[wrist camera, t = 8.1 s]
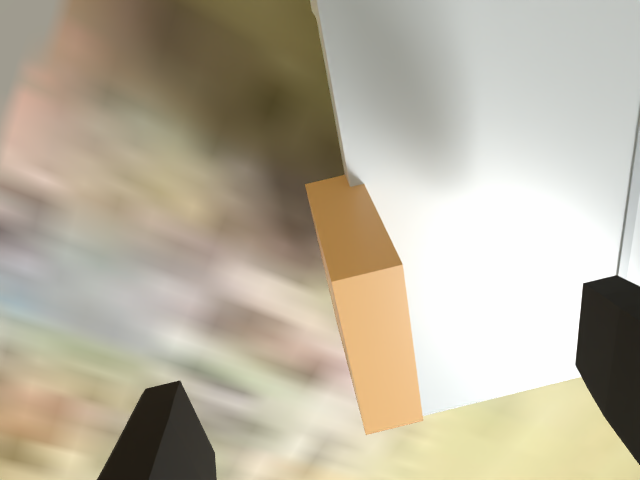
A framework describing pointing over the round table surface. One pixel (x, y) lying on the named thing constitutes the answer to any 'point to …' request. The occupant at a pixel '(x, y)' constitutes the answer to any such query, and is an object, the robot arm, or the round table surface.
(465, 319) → the lid
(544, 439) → the round table surface
